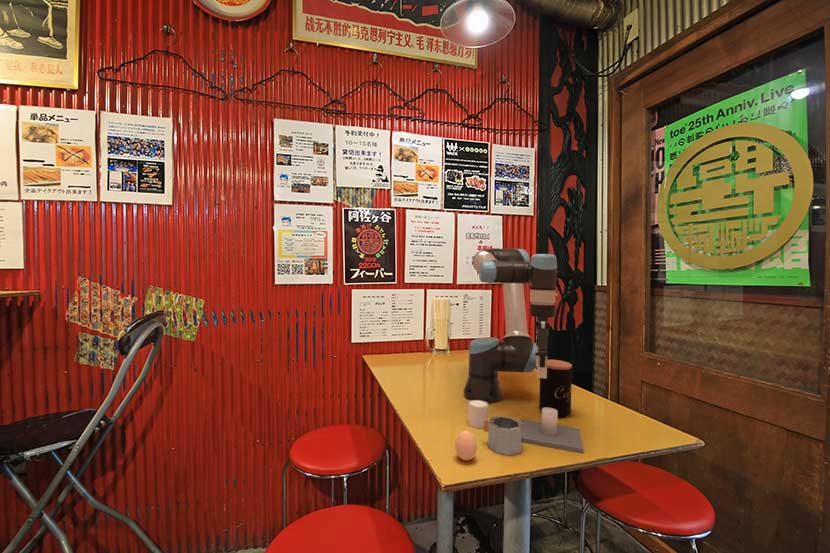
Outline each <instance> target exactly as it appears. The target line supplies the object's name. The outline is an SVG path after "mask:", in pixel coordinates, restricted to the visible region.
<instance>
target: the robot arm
mask: <svg viewBox="0 0 830 553" xmlns="http://www.w3.org/2000/svg"><path fill="white" fill-rule="evenodd" d="M557 262H558V261H557V256H556V255H555V254H551V253H535V254H532V256H531V258H530V256H529V254H528V252H527V251H526V250H525V249H522V248H516V247H515V248H497V247H496V248H495V247H493V248H486V249H482V250H480V251H478V252H477V253H475V255H474V256H473V258H472V266H473V269H474V270H475V271H476V272H478V278H479V281H480V282H481V283H485V284H486V283H487V284H502V289H503V290H502V291H503V302H504V303H503V304H504V307H503V308H504V321H505V322H504V324H505V335H504V336H503V337H502V340H501V341H500V340H499V338H497V337H489V336H487V337H478V338H475V339H472V340H471V341H470V343H469V349H468V377H467V380H466V382H465V386H464V388H463V396H464V398H466V399H467V400H468V401H471V400H481V401H485V402H487V403H488V404H491V403H493V404H494V403H497V402H500V401H502V400H503V392H502V389H501V384H500V382H499V372H502V373H504V372H506V373H521V374H523V373H532V372H533V371H534V370H535V369H536V378H538V379H540V378H546V379H547V360H548V354H549V353H548V337H549V329H550V322H548V321H547V319H548V318H555V317H556V310H557V309H556V305H555V303H556V300H557V299H556V297H558V296H559V294H558V293H556V291H557V268H558V263H557ZM525 284H526V285H527V284H528V285H530V289H529V302H530V303H531V304H529V315H530V316H531V317H536V320H537V321H535V332H536V333H535V334H536V340H535V342H536V343H535V342H533V338H532V337H531V336H530V335H529V334H528V325H527V311H526V301H525V286H524V285H525Z"/></svg>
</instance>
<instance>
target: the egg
mask: <svg viewBox="0 0 830 553" xmlns="http://www.w3.org/2000/svg"><path fill="white" fill-rule="evenodd" d="M454 447H455V452H456V455H457V456H458V457H459V458H460V459H461V460H463V461H470V460H472V459H473V458H474V457H475V456H476V454H477V451H478V443H477V440H476V437H475V435H474V434H473V433H472V432H471V431H469V430H463V431H461V432H460V433H459V434H458V436H457V437H456V440H455V445H454Z"/></svg>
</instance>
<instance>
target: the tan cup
mask: <svg viewBox="0 0 830 553" xmlns="http://www.w3.org/2000/svg"><path fill="white" fill-rule="evenodd" d="M489 407H490V403H487V402H485V401H481V400H468V402H467V410H468V411H467V412H468V424H469V426H470V427H472V428H475V429H484V422H485V421H487V422H488V414H489Z"/></svg>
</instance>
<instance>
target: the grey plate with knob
mask: <svg viewBox="0 0 830 553" xmlns="http://www.w3.org/2000/svg"><path fill="white" fill-rule="evenodd" d="M557 416H558V411H557V410H556V409H553V408H548V407H545V408H542V412H541V422H539V421H533V420H528V419H521V418H520V419H519V421H520V422H521V423H522V443H525V444H531V445H536V446H540V447H547V448H552V449H559V450H563V451H569V452H575V453H581V454H584V444H583V440H582V435H581V431H580V428H579V427H578V428H577V427H572V426H571V427H570V426H566V425H565V426H564V425H558V418H557Z"/></svg>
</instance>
